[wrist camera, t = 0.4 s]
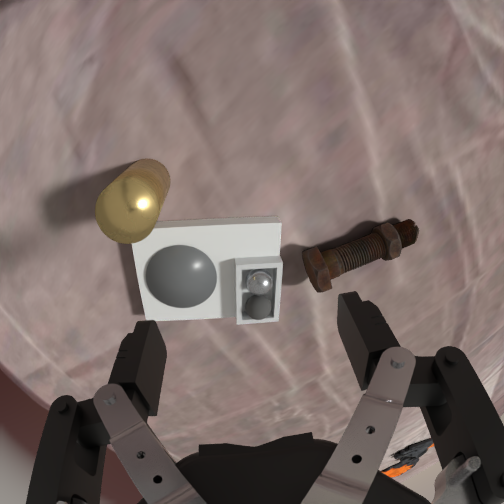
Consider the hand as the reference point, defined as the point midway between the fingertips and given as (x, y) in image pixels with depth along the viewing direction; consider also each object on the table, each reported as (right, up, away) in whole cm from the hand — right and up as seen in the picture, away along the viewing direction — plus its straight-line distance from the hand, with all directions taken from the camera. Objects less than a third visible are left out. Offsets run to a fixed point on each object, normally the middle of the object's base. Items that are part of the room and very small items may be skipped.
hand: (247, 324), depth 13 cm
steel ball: (+1, 0, +21) cm, 21 cm away
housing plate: (-5, +1, +23) cm, 24 cm away
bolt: (+14, +4, +25) cm, 29 cm away
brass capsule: (-11, +10, +18) cm, 23 cm away
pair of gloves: (+55, -70, +70) cm, 113 cm away
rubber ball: (+1, -3, +23) cm, 23 cm away
